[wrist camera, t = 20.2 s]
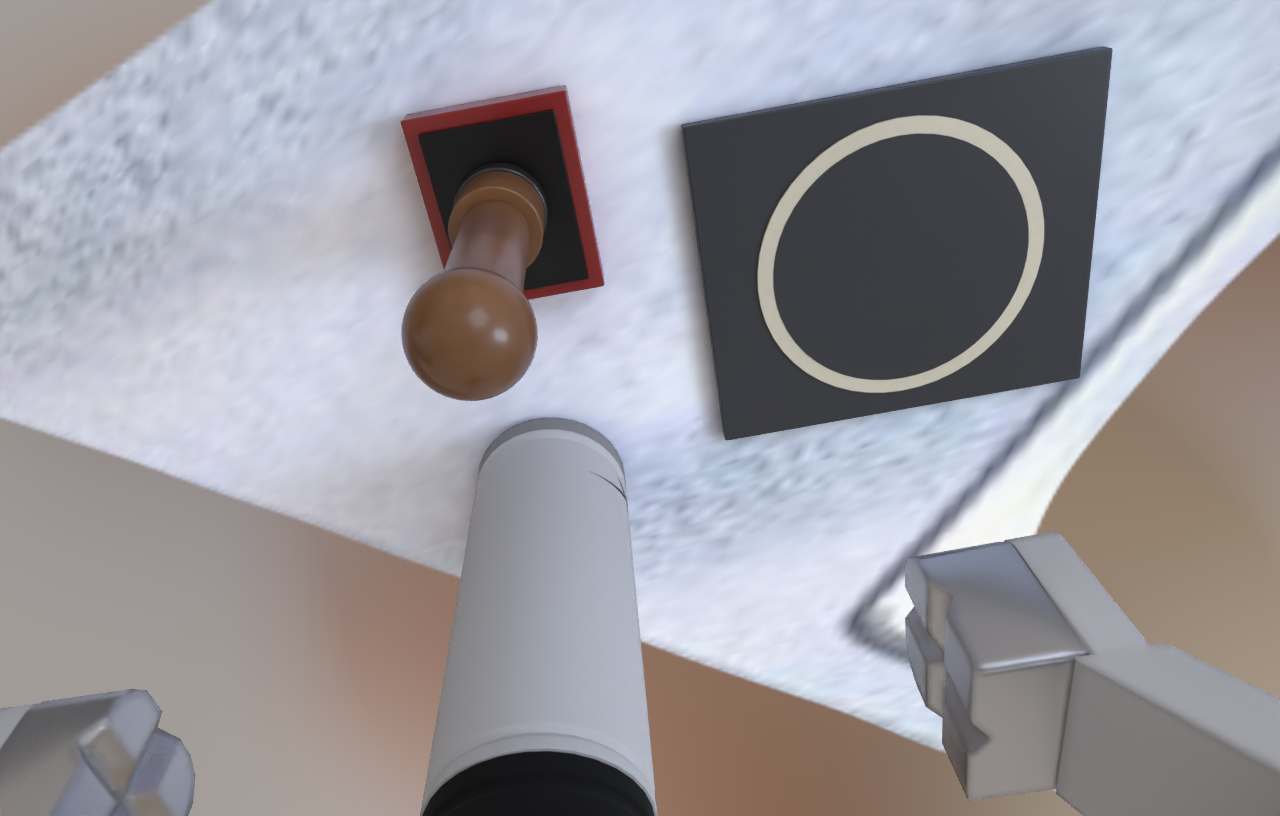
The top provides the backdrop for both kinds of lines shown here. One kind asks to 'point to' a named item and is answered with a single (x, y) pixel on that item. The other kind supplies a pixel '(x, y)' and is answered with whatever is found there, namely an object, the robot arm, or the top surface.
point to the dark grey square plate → (899, 241)
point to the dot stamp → (480, 289)
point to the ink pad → (531, 140)
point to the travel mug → (545, 640)
